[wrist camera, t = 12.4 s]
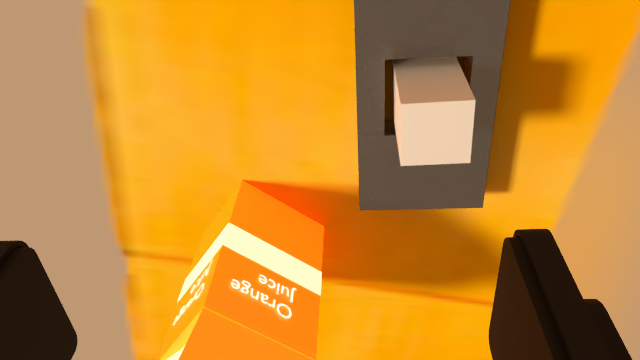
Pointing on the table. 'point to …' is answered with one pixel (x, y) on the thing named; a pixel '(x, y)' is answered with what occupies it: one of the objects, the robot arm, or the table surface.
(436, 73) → the square peg
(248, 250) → the orange juice
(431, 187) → the grey peg hole board
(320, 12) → the table surface
